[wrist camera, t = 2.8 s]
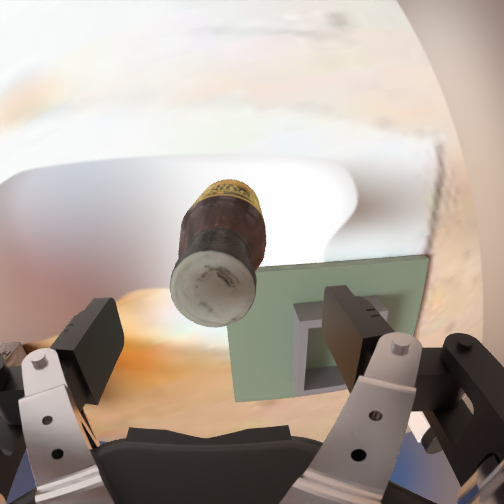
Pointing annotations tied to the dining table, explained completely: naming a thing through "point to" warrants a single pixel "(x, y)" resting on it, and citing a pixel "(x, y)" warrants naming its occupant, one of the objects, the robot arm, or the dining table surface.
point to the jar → (424, 432)
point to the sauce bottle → (219, 255)
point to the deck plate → (313, 322)
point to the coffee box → (12, 354)
